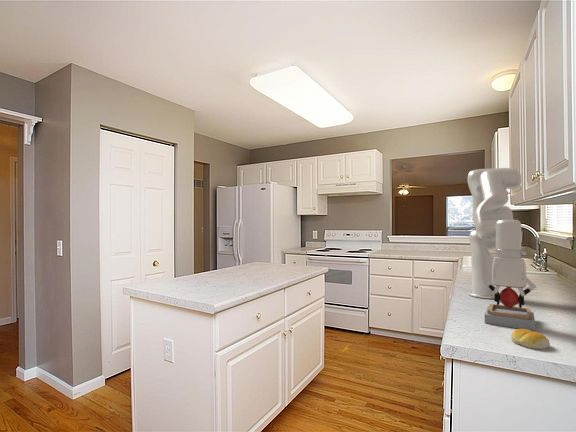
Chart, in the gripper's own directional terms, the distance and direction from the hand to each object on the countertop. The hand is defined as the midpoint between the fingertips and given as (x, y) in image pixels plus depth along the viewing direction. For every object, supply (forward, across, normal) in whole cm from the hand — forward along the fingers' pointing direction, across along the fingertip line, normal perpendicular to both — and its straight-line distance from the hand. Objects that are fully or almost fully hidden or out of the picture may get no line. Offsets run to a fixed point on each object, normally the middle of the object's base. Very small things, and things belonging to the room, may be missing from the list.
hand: (509, 305), depth 115 cm
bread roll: (+6, -5, +21) cm, 23 cm away
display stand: (+6, 0, 0) cm, 6 cm away
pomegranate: (+1, 0, 0) cm, 1 cm away
